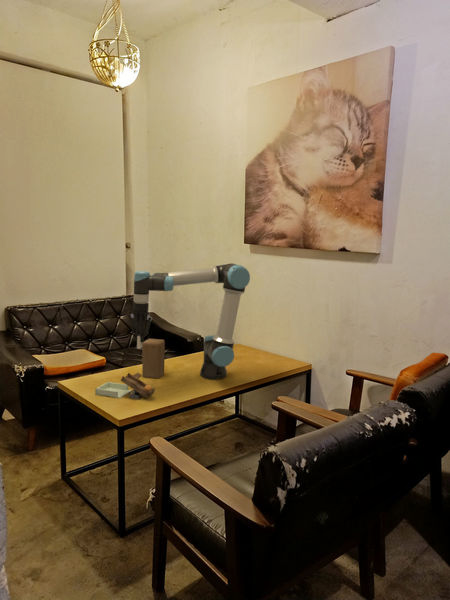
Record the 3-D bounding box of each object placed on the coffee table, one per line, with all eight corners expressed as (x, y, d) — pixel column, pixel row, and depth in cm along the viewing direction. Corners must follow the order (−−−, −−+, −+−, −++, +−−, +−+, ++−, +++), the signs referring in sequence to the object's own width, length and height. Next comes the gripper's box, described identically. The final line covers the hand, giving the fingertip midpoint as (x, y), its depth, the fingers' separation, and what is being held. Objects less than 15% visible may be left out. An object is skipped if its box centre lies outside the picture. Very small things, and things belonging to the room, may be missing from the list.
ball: (152, 391, 222) (153, 385, 221) (149, 394, 219) (150, 387, 218) (145, 389, 223) (147, 382, 222) (142, 392, 220) (143, 385, 219)
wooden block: (158, 379, 249) (159, 343, 246) (141, 377, 251) (141, 342, 248) (164, 373, 259) (165, 339, 256) (148, 372, 261) (148, 338, 258)
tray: (131, 391, 230) (131, 385, 230) (120, 398, 220) (120, 392, 219) (107, 387, 234) (107, 381, 234) (95, 394, 224) (95, 388, 223)
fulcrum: (145, 394, 226) (145, 386, 225) (138, 399, 219) (138, 391, 218) (136, 393, 227) (136, 385, 226) (129, 398, 220) (129, 390, 220)
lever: (160, 388, 231) (162, 383, 230) (146, 398, 218) (149, 392, 217) (134, 372, 234) (137, 367, 233) (120, 381, 221) (122, 375, 220)
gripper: (156, 302, 229) (154, 348, 232) (133, 300, 233) (131, 344, 236) (149, 304, 222) (147, 351, 225) (125, 301, 226) (124, 348, 229)
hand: (139, 348), depth 231 cm, fingers closed
